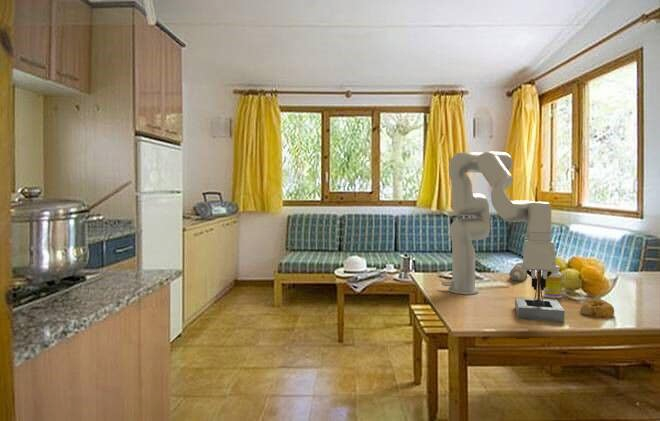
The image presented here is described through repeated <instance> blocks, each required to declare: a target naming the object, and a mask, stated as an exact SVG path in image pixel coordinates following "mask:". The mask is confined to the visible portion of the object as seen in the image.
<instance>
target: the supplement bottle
mask: <svg viewBox="0 0 660 421" xmlns="http://www.w3.org/2000/svg"><path fill="white" fill-rule="evenodd" d="M556 267H557V270H558V272H557V273H554V274H551V275H550V276H549V277H547V279H546V288H544V290H543V296H544V297H545V298H546V299H554V300H557V299H561V298H562V296H563V274H562V273H561V271H560V265H557V264H556Z"/></svg>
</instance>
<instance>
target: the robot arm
mask: <svg viewBox="0 0 660 421" xmlns="http://www.w3.org/2000/svg"><path fill="white" fill-rule="evenodd" d="M448 163H449V164H448V174H449V179H450V183H451V202H452V203H451V205H452V211H453V212H454V214H455V215H457V216H472V218H468V217H467V218H458V219H455V220H453V222H452V223H451V224H450V227H449V232H450V233H449V234H450V239H451V250H452V252H451V254H452V256H451V261H452V263H451V266H452V267H451V269H452V271H451V274H452V276H451V280H448V281H447V280H441V286H444V287H448V291H449V293H453V294H456V295H457V294H458V295H476V294H479V292H480V289H479V288H477V287H476V250H475V249H476V248H475V247H474V245H473V243H472V241H480V240H481V241H482V240H485V239H487V237H488V236H489V235H490V230H491V219H490V217H491V216H490V204H489V200H488V198H487V197H486V196H485V195H484V194H482V193H477V192H476V193H473V184H472V180H471V179H470V176H468V173H481V174H482V176H483V177H484V179H485V180H486V181H487V183H488V185H489V186H490V187H491V189H492V190H491V192H490V201H491V204H492V205H491V206H492V207H493V209H494V210H495V212H496V213H497V214H498V216H499V217H500V218H501V219H502V220H503V221H505V222H507V223H508V222H509V223H517V222H521V223H522V222H527V232H526V233H523V234H522V238H526V239H527V240H525V242H524V245H523V246H524V247H523V253H522V254H523V257H522V263H523V264H522V266H521V268H520V270H521V271H523V272H525V273H527V276H529V277H531V288H533V290H534V291H536V290H537V291H538V281H537V279H536V278H537V275H536V271H537V270H541V290H542V291H544V288H546V279H547V277H549V276H550V275H551V274H554V273H557V272H558V270H557V267H556V265H557V261H556V258H557V257H556V246H555V242H554V241H553V240H552V209H553V208H552V204H551V203H550V202H548V201H531V200H510V198H509V197H508V195H507V194H506V192H505V190H508V188H509V187H510V186H511V185H512V184H513V182H514V177H513V175H512V173H510V171H511V170H512V168H513V165H514V164H513V159H512V157H511V155H510V154H509V153H507V152H503V151H483V152H476V151H475V152H471V151H470V152H469V151H463V152H459V153H458V152H457V153H455V154H454V155H453V156H452V157H451V158H450V160H449V162H448ZM525 268H526V269H525ZM541 290H540V291H541Z"/></svg>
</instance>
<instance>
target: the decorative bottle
mask: <svg viewBox="0 0 660 421" xmlns="http://www.w3.org/2000/svg"><path fill="white" fill-rule="evenodd" d="M522 264H523V262H518V263H515V264H514V266H513V268H512V269H511V270H510V272H509V274H508V275H509V277H510V278H511V279H512V280H513V281H514V282H515V281H516V282H522V281H524V280H525V279H526V278H527V276H528V274H527V273H525V272H523V271H521V270H520V268H521V266H522ZM525 269H526V268H525Z"/></svg>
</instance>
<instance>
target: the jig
mask: <svg viewBox="0 0 660 421" xmlns="http://www.w3.org/2000/svg"><path fill="white" fill-rule="evenodd" d="M534 298H535V297H534ZM534 298H531V297H520V296H519V297H517V296H516V297H514V310H515V311H516V315H517V318H518V320H526V321H541V322H555V323H565V309H564V308H563V306H562V305H561V303H560V302H559V301H558V300H557V299H551V298H543V302H544V303H545V306H546V307H536V306H531V305H532V303H533V302H534ZM537 299H538V298H536V299H535V300H537ZM540 300H542V298H540Z"/></svg>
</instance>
